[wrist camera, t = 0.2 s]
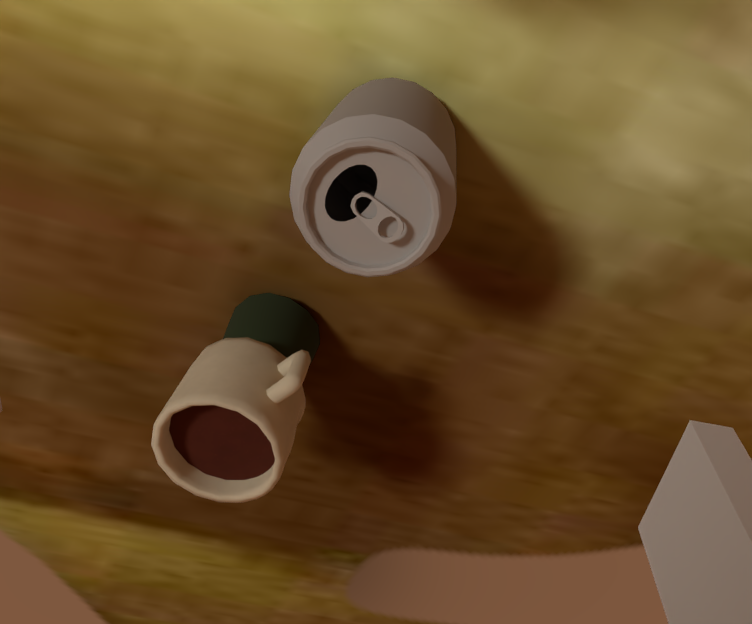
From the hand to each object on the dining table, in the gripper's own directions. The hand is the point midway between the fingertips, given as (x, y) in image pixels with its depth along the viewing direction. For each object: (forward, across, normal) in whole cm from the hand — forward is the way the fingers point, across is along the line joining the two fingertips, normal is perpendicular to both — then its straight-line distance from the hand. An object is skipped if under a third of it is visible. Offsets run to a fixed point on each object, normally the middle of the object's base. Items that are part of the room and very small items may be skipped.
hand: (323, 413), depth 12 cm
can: (+28, -1, -2) cm, 28 cm away
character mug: (+28, -7, -16) cm, 33 cm away
